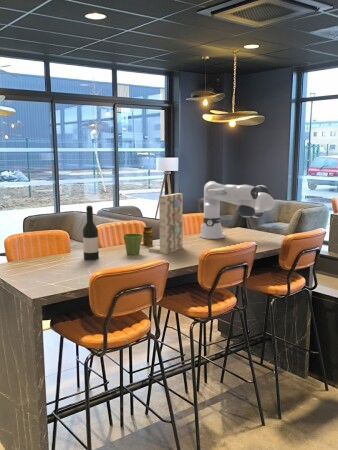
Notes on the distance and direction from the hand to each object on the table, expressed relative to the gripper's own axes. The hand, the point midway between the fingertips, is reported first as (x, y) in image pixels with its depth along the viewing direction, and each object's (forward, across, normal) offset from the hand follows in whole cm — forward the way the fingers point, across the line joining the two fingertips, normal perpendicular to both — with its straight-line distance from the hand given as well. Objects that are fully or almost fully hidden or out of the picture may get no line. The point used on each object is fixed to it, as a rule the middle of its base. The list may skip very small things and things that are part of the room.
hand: (208, 191), depth 260 cm
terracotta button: (+17, -11, -17) cm, 27 cm away
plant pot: (+34, -30, -36) cm, 58 cm away
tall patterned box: (+23, -11, -36) cm, 44 cm away
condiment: (+41, -6, -36) cm, 55 cm away
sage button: (+17, -11, -25) cm, 32 cm away
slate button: (+17, -11, -9) cm, 22 cm away
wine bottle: (+47, -52, -36) cm, 79 cm away
